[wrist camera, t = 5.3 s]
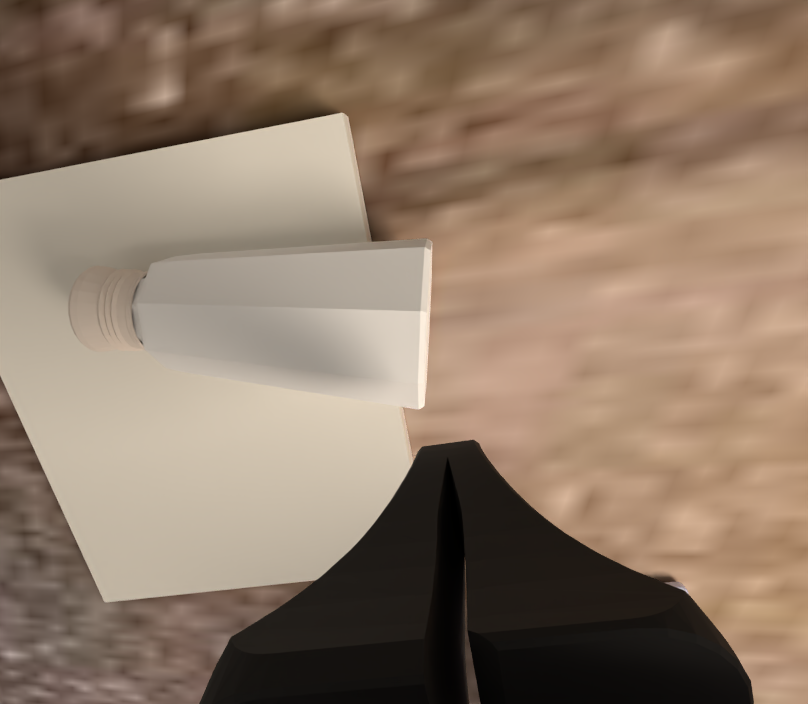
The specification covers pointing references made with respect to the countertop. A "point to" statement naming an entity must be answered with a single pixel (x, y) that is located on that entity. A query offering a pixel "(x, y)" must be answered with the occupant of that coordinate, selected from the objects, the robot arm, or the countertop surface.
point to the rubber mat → (184, 392)
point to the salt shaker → (274, 317)
